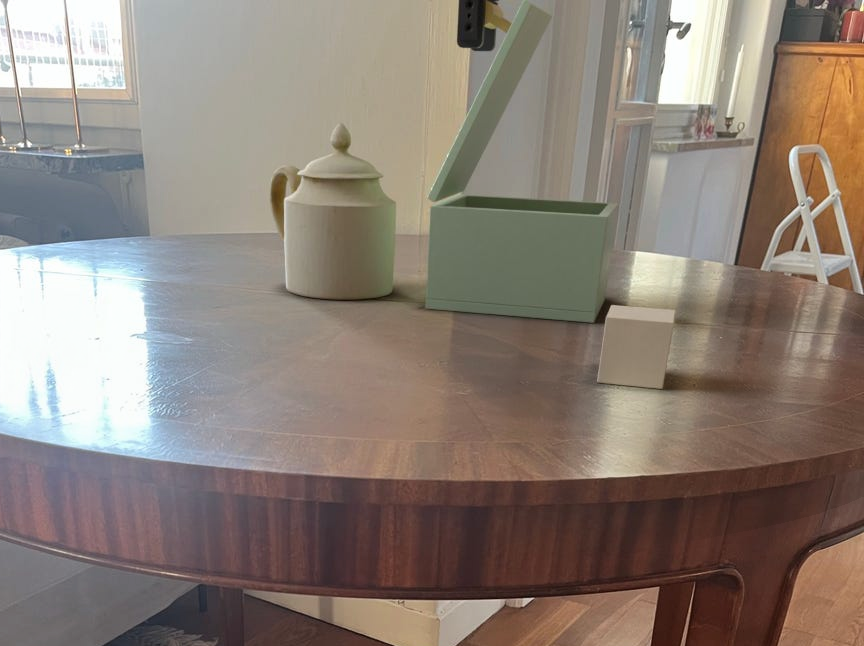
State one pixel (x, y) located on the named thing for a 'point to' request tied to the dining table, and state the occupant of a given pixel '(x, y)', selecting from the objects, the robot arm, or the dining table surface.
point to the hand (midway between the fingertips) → (476, 48)
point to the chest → (520, 256)
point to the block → (636, 346)
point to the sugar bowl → (335, 226)
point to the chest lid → (491, 95)
